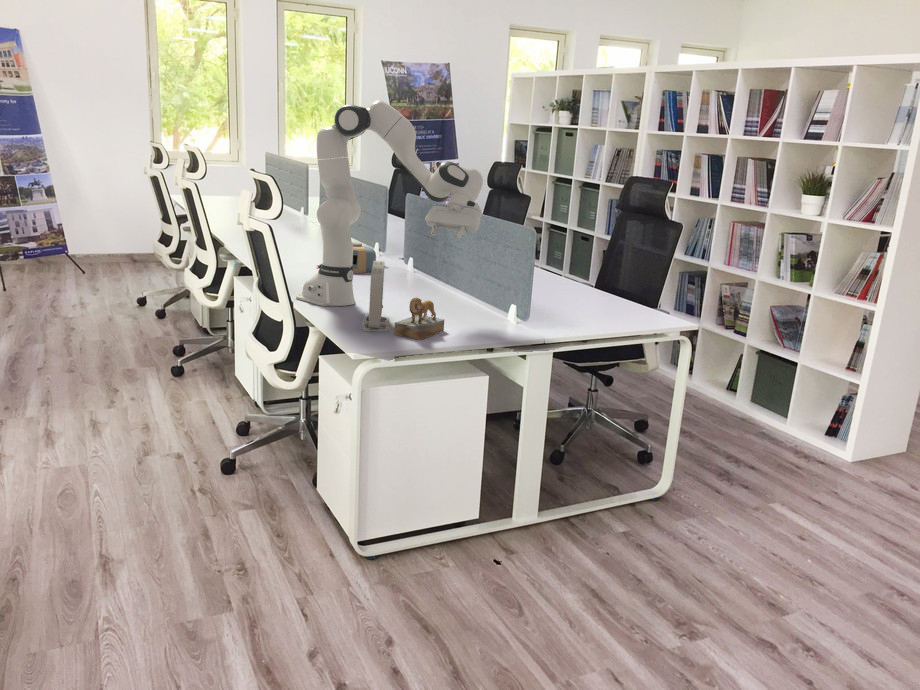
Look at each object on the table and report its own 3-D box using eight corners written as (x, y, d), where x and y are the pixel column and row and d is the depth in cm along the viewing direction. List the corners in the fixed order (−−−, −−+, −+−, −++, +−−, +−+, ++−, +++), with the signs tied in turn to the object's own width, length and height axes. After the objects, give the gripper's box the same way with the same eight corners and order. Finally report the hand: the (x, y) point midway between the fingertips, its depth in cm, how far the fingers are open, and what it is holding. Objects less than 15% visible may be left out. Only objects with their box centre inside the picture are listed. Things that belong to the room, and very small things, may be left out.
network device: (364, 315, 284) (367, 259, 279) (389, 316, 285) (392, 261, 279) (361, 333, 259) (363, 272, 254) (388, 334, 260) (391, 274, 255)
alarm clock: (326, 269, 364) (327, 243, 361) (344, 263, 382) (345, 238, 379) (364, 274, 359) (366, 248, 356) (381, 268, 377) (383, 243, 374)
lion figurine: (419, 327, 257) (420, 299, 254) (404, 324, 259) (406, 297, 256) (438, 319, 270) (440, 292, 267) (425, 316, 272) (426, 290, 269)
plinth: (393, 334, 261) (394, 322, 260) (418, 325, 275) (418, 314, 274) (420, 340, 257) (421, 328, 256) (443, 330, 271) (444, 319, 270)
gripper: (431, 198, 290) (416, 227, 284) (482, 204, 282) (467, 234, 276) (436, 209, 295) (421, 238, 289) (486, 216, 287) (472, 245, 281)
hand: (444, 236), depth 282 cm, fingers open, 8 cm apart
